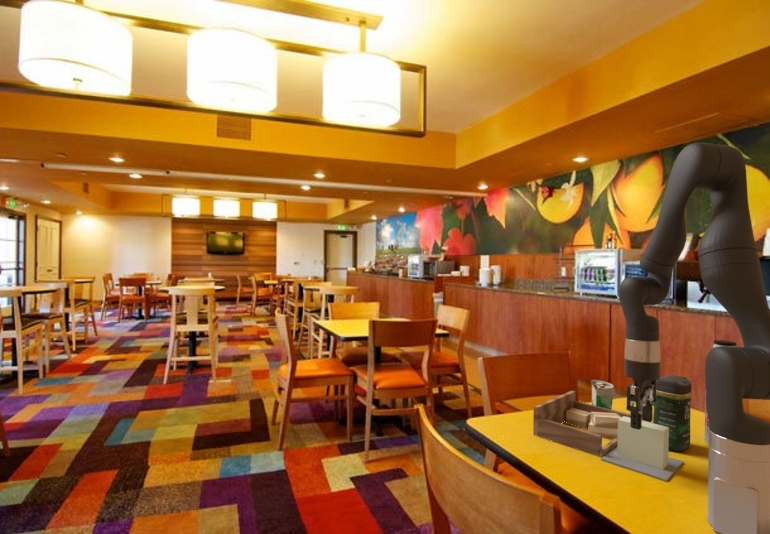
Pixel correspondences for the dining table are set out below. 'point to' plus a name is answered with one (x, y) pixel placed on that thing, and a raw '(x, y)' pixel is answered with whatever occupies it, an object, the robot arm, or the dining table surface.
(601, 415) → the offcut
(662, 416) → the coffee jar
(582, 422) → the offcut
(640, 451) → the block
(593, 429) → the offcut
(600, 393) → the food container
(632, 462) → the mat
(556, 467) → the dining table surface
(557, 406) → the tray
